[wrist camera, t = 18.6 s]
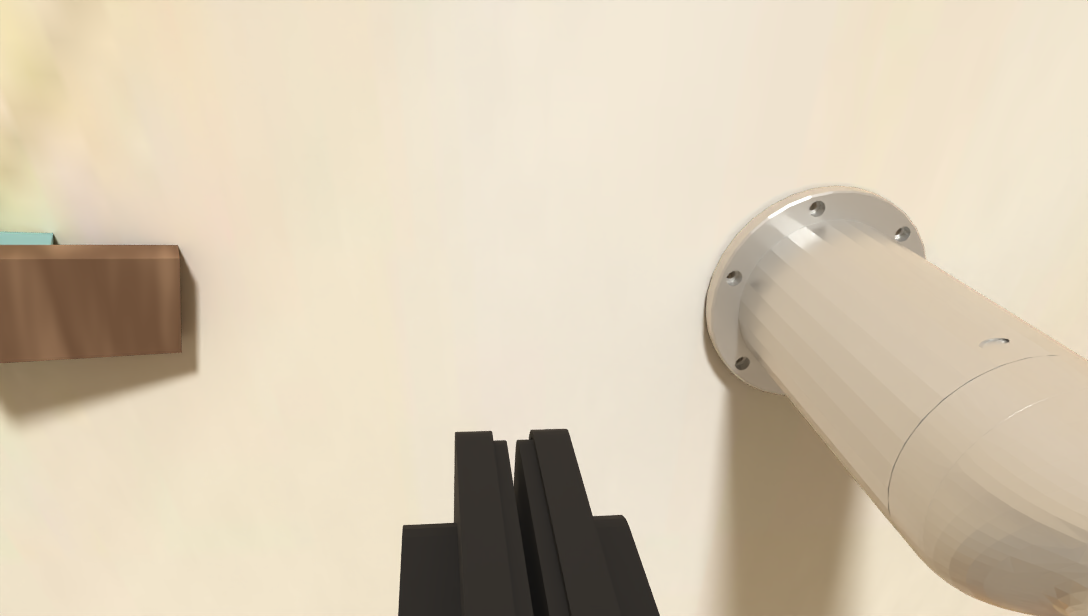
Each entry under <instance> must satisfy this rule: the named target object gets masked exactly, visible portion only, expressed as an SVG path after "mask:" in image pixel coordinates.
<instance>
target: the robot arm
mask: <svg viewBox="0 0 1088 616" xmlns="http://www.w3.org/2000/svg"><path fill="white" fill-rule="evenodd" d="M811 205H812V206H811ZM810 206H811V207H810ZM729 273H731V274H730V275H729ZM706 320H707V328H708V333H709V335H710V338H711V341H712V344H713V347H714V348H715V350H716V351H717V353H718V355H719V356H720V358H721V359H722V361H723V362H724V363H725V365H726V366H727V367H728V368H729V370H730V371H731V372H732V373H733V374H734V375H735V376H737V377H738V378H739V379H741V380H742V381H743V382H745V383H746V384H748V385H750V386H752V387H754V388H757V389H759V390H761V391H764V392H768V393H773V394H778V395H786V396H787V397H788V398H789V399H790V401H791V402H792V403H793V404H794V405H795V407H796V408H797V409H798V410H799V412H800V413H801V414H802V415H803V417H804V418H805V419H806V420H807V421H808V423H809V424H810V425H811V426H812V428H813V429H814V430H815V431H816V432H817V434H818V435H819V436H820V437H821V439H822V440H823V441H824V442H825V444H826V445H827V446H828V447H829V448H830V450H831V451H832V452H833V453H834V455H835V456H836V457H837V458H838V460H839V461H840V462H841V463H842V464H843V466H844V467H845V468H846V469H847V471H848V472H849V473H850V474H851V475H852V477H853V478H854V479H855V480H856V482H857V483H858V484H859V485H860V487H861V488H862V489H863V490H864V491H865V493H866V494H867V495H868V496H869V498H870V499H871V500H872V501H873V503H874V504H875V505H876V506H877V507H878V509H879V510H880V511H881V512H882V513H883V515H884V516H885V517H886V518H887V519H888V521H889V522H890V523H891V524H892V525H893V526H894V528H895V529H896V530H897V531H898V532H899V534H900V535H901V536H902V537H903V539H904V540H905V541H906V542H907V543H908V545H909V546H910V547H911V548H912V549H913V551H914V552H915V553H916V554H917V555H918V557H919V558H920V559H921V560H922V561H923V562H924V563H925V564H926V565H927V566H928V567H929V568H930V569H931V570H932V571H933V572H934V573H936V574H937V575H938V576H939V577H941V578H942V579H943V580H944V581H946V582H947V583H949V584H950V585H952V586H953V587H955V588H957V589H958V590H960V591H962V592H963V593H965V594H967V595H969V596H971V597H973V598H975V599H978V600H980V601H983V602H986V603H988V604H991V605H994V606H997V607H1000V608H1004V609H1008V610H1012V611H1016V612H1020V613H1024V614H1029V615H1034V616H1088V360H1087V359H1085V358H1083V357H1082V356H1080V355H1078V354H1077V353H1075V352H1074V351H1072V350H1070V349H1069V348H1067V347H1066V346H1064V345H1062V344H1061V343H1059V342H1058V341H1056V340H1054V339H1053V338H1051V337H1049V336H1048V335H1046V334H1045V333H1043V332H1041V331H1040V330H1038V329H1037V328H1035V327H1033V326H1032V325H1030V324H1028V323H1027V322H1025V321H1024V320H1022V319H1020V318H1019V317H1017V316H1016V315H1014V314H1012V313H1011V312H1009V311H1008V310H1006V309H1004V308H1003V307H1001V306H999V305H998V304H996V303H995V302H993V301H991V300H990V299H988V298H987V297H985V296H983V295H982V294H980V293H978V292H977V291H975V290H974V289H972V288H970V287H969V286H967V285H966V284H964V283H962V282H961V281H959V280H958V279H956V278H954V277H953V276H951V275H949V274H948V273H946V272H945V271H943V270H941V269H940V268H938V267H937V266H935V265H933V264H932V263H930V262H928V261H927V260H926V256H925V250H924V245H923V242H922V240H921V237H920V235H919V233H918V230H917V228H916V226H915V225H914V224H913V223H912V221H911V220H910V219H909V217H908V216H907V215H906V213H904V212H903V211H902V210H901V209H899V208H898V207H897V206H895V205H894V204H893V203H892V202H890V201H888V200H886V199H884V198H883V197H881V196H879V195H877V194H875V193H872V192H869V191H866V190H863V189H859V188H856V187H845V186H828V187H819V188H813V189H809V190H806V191H803V192H800V193H796V194H793V195H791V196H789V197H787V198H785V199H783V200H781V201H779V202H777V203H775V204H773V205H771V206H770V207H768V208H767V209H766V210H764V211H763V212H761V213H760V214H759V215H757V216H756V217H755V218H753V219H752V220H751V221H750V222H749V223H748V224H747V225H746V226H745V227H744V228H743V229H742V230H741V231H740V232H739V233H738V234H737V235H736V236H735V238H734V239H733V240H732V242H731V243H730V245H729V246H728V247H727V249H726V250H725V251H724V253H723V254H722V256H721V258H720V260H719V262H718V265H717V267H716V269H715V271H714V273H713V276H712V279H711V282H710V286H709V289H708V293H707V303H706ZM398 616H660V615H659V612H658V609H657V606H656V603H655V600H654V597H653V595H652V592H651V589H650V586H649V583H648V580H647V577H646V574H645V571H644V568H643V565H642V563H641V560H640V557H639V554H638V551H637V548H636V545H635V542H634V539H633V536H632V534H631V531H630V528H629V525H628V523H627V521H626V519H625V518H624V517H623V516H622V515H611V516H593V515H592V512H591V508H590V505H589V501H588V498H587V494H586V491H585V487H584V484H583V480H582V477H581V473H580V470H579V467H578V463H577V460H576V456H575V453H574V449H573V446H572V442H571V439H570V435H569V432H568V430H567V429H545V430H531V431H530V434H529V440H517V442H516V453H515V472H514V486H513V480H512V473H511V467H510V460H509V454H508V447H507V442H506V440H502V441H493V435H492V431H476V432H455V474H454V523H442V524H421V525H403V533H402V552H401V572H400V592H399V612H398Z"/></svg>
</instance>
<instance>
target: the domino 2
mask: <svg viewBox="0 0 1088 616" xmlns="http://www.w3.org/2000/svg"><path fill="white" fill-rule="evenodd" d="M180 352H182V348H181V298H180V257H179V250H178V245H0V363H10V362H27V361H44V360H61V359H78V358H95V357H112V356H129V355H146V354H163V353H180Z"/></svg>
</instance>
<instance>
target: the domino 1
mask: <svg viewBox="0 0 1088 616" xmlns="http://www.w3.org/2000/svg"><path fill="white" fill-rule="evenodd" d="M0 245H54V243H53V233H23V232H0Z"/></svg>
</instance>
